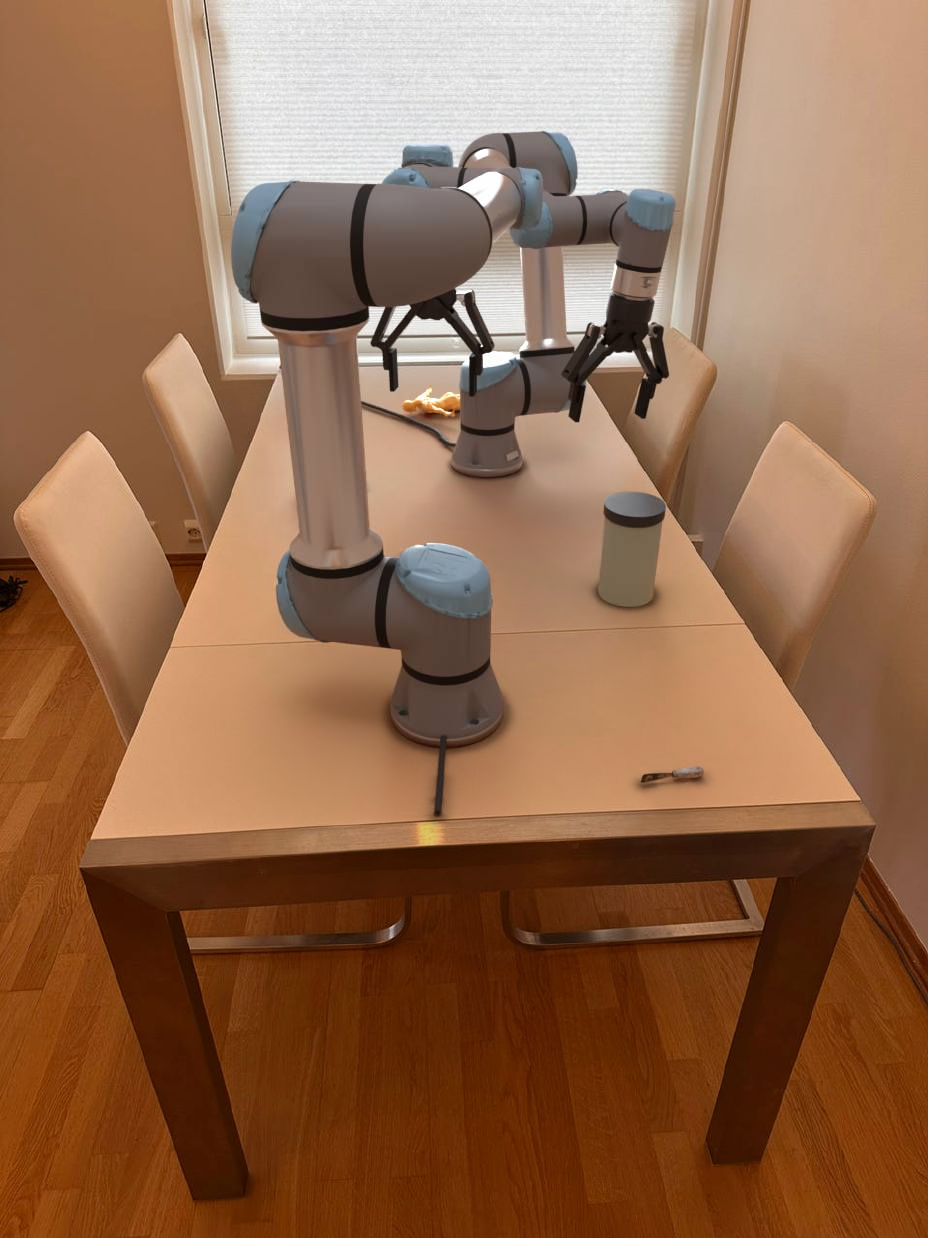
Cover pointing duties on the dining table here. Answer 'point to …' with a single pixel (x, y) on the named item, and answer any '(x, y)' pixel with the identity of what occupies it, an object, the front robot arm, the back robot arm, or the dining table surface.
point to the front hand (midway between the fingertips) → (433, 391)
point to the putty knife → (674, 774)
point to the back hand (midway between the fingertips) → (607, 417)
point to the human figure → (434, 403)
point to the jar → (628, 564)
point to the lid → (634, 509)
